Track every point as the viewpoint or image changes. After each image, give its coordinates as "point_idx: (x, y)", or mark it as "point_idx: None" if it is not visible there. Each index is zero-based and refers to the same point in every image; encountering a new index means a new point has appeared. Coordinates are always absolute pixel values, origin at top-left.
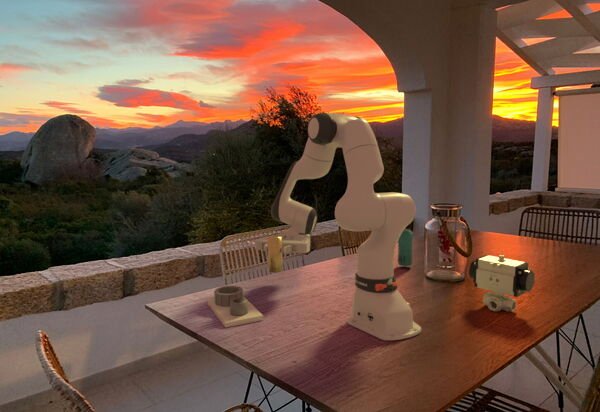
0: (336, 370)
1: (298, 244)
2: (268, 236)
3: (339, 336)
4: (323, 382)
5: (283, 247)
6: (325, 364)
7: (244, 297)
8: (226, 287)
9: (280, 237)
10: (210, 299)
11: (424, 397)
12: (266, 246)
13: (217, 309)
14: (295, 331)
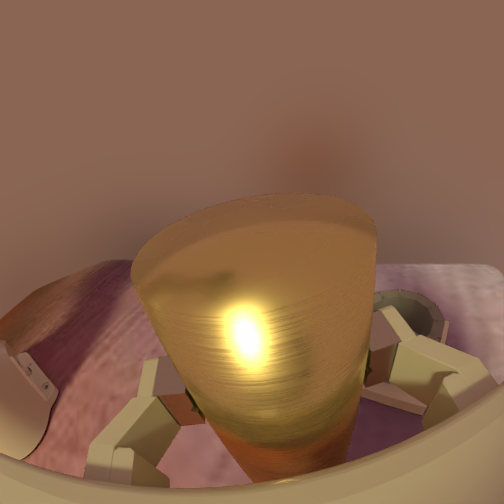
0: (95, 289)
1: (17, 460)
2: (357, 210)
3: (79, 349)
4: (109, 273)
5: (163, 369)
6: (105, 291)
7: (386, 395)
8: (431, 329)
9: (146, 246)
10: (444, 325)
11: (41, 291)
12: (378, 320)
13: None
14: (151, 337)
